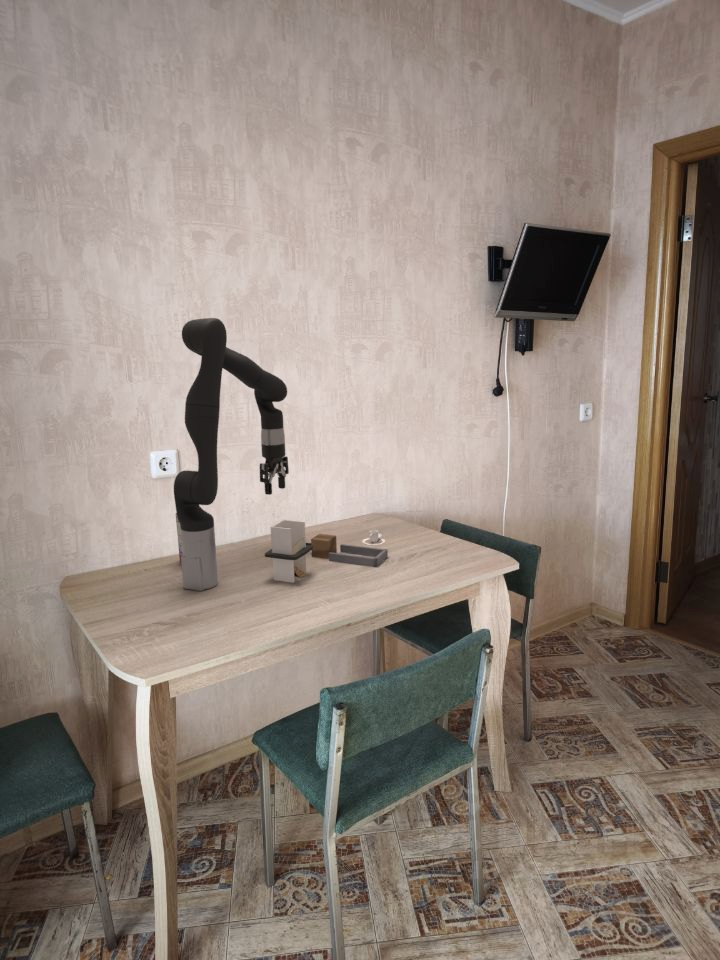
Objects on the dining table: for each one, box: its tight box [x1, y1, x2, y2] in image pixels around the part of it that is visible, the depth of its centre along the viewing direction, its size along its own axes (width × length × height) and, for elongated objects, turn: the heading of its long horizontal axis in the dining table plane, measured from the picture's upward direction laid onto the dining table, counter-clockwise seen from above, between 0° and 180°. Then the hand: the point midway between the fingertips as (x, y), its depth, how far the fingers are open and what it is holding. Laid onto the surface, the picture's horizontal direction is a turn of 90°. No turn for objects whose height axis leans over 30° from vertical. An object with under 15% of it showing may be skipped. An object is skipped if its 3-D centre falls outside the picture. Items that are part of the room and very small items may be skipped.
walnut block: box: [306, 533, 338, 560], centre depth 215 cm, size 6×20×6 cm, turn 66°
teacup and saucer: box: [361, 529, 386, 546], centre depth 225 cm, size 9×8×4 cm
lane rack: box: [328, 543, 389, 568], centre depth 208 cm, size 10×16×2 cm, turn 67°
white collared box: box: [264, 519, 313, 584], centre depth 193 cm, size 25×24×16 cm
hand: (275, 491), depth 215 cm, fingers open, 8 cm apart
